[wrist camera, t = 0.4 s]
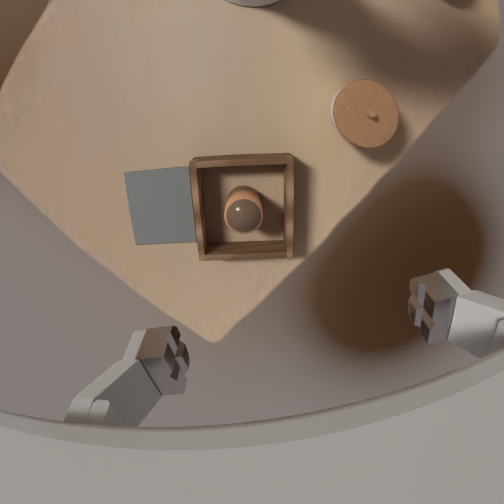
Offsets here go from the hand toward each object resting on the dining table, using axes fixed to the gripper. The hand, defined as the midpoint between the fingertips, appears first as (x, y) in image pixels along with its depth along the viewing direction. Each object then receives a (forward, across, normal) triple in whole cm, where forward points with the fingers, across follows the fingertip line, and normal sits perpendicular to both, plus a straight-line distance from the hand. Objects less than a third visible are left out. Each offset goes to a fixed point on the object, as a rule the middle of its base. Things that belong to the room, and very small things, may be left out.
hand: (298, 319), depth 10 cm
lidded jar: (+45, -18, -4) cm, 48 cm away
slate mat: (+44, +19, +6) cm, 49 cm away
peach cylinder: (+44, +4, +9) cm, 46 cm away
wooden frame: (+44, +4, +9) cm, 45 cm away
